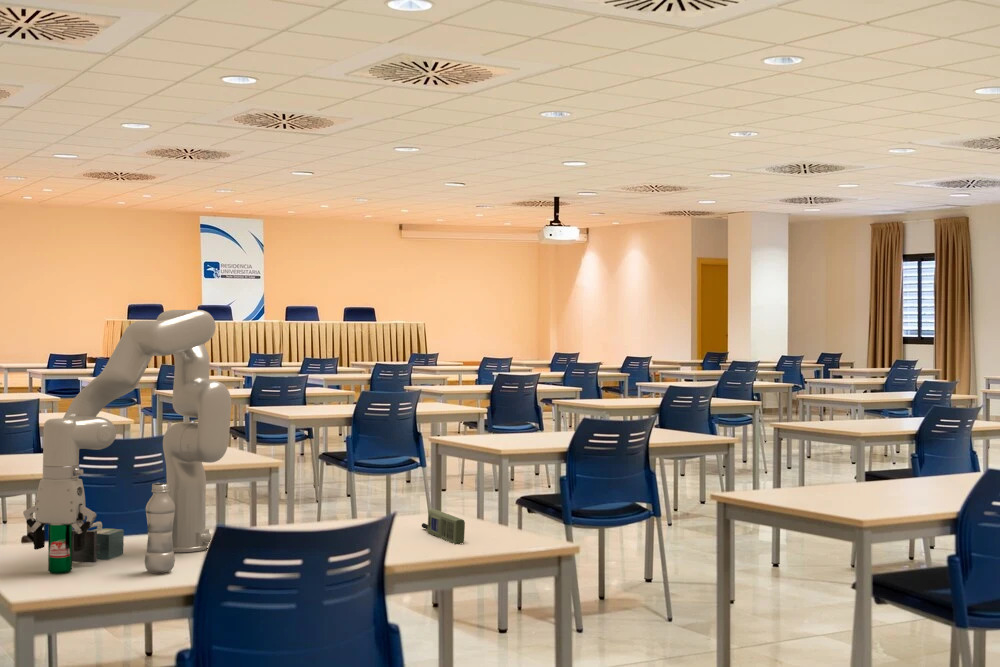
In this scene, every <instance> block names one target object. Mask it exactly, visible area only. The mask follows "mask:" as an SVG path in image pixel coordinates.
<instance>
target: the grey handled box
mask: <svg viewBox="0 0 1000 667" xmlns="http://www.w3.org/2000/svg"><path fill="white" fill-rule="evenodd" d="M95 527H96V529H97V531H102V529H103V523H102V521H96V522H93V525H92V526H91V527H90V528H89V529H91V528H95ZM89 529H88V530H87V532H85V546H84V549H83V550H80V551H77V552H76V551H74V534H76V531H75V529H73V539H72V563H87V564H88V563H91V564H94V563H97V561H98V559H97V551H99V550H100V546H99V545H97V531H91V530H89Z"/></svg>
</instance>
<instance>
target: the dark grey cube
mask: <svg viewBox="0 0 1000 667" xmlns="http://www.w3.org/2000/svg"><path fill="white" fill-rule="evenodd" d="M90 531H97V528H96V529H91V530H90ZM124 533H125V532H124V529H122V528H121V529H116V528H102V531H97V545H99V546H100V550H99V551H97V560H106V561H108V560H109V561H110V560H112V559H115V558H117V557H120V556H122V555H124V541H125V540H124V539H125V537H124Z"/></svg>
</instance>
